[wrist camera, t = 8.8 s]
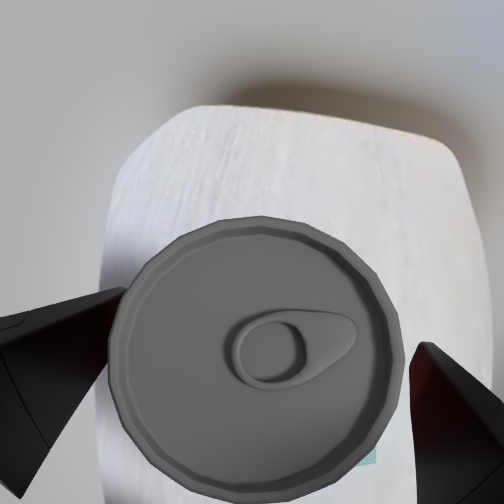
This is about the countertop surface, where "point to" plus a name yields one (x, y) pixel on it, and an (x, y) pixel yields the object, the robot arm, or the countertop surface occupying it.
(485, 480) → the robot arm
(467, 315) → the countertop surface
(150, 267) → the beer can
